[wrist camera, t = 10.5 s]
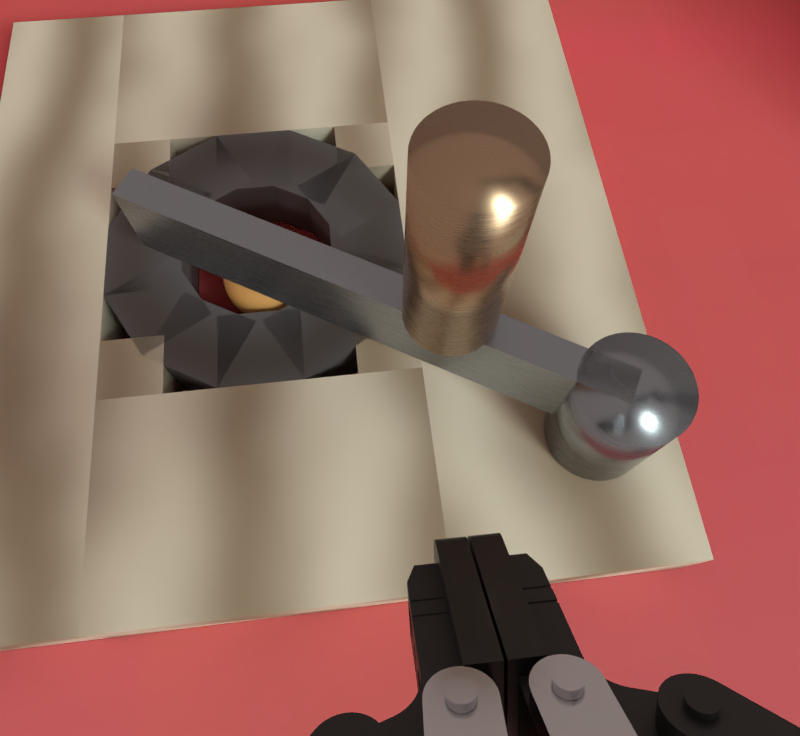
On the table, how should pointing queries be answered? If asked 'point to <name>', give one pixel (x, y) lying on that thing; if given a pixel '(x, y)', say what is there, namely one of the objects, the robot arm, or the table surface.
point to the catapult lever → (449, 287)
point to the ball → (250, 299)
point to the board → (280, 326)
